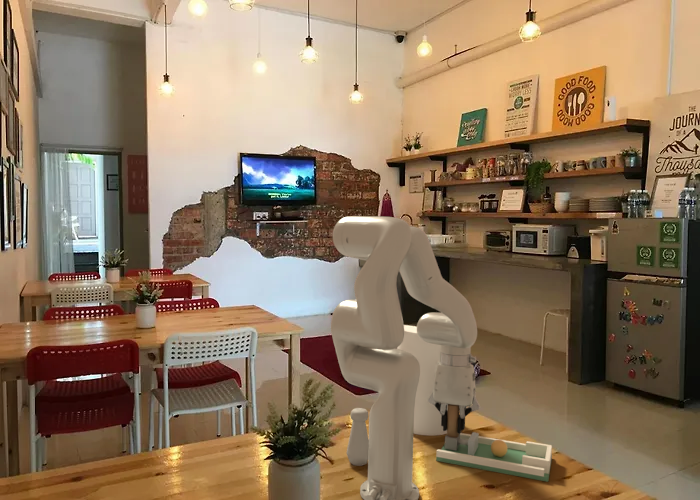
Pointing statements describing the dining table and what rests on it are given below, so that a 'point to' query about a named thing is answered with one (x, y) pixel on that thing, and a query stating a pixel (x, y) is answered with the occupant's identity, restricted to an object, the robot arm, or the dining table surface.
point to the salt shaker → (358, 438)
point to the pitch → (503, 458)
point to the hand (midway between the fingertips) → (452, 429)
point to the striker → (453, 437)
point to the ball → (499, 448)
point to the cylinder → (424, 382)
